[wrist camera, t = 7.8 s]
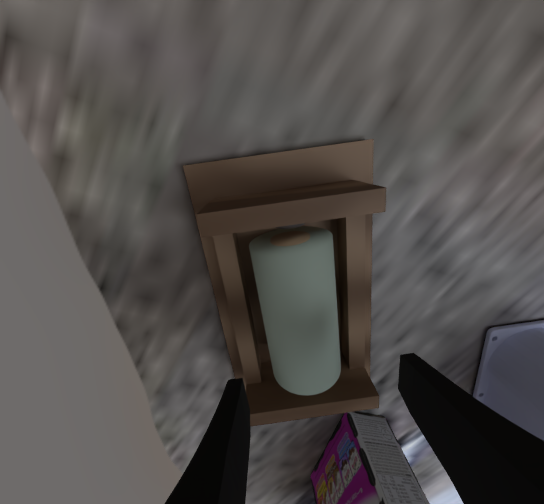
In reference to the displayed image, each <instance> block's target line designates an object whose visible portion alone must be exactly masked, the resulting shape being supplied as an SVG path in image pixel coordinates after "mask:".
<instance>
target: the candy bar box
mask: <svg viewBox="0 0 544 504" xmlns="http://www.w3.org/2000/svg"><path fill="white" fill-rule="evenodd" d="M310 477H311V481H312V486H313V492H314V498H315V503H316V504H429V502H428V500H427V498H426V496H425V494H424V492H423V491H422V489H421V487H420V485H419V483H418V481H417V479H416V477H415V475H414V473H413V471H412V469H411V467H410V465H409V463H408V461H407V459H406V457H405V455H404V453H403V451H402V449H401V447H400V445H399V443H398V441H397V439H396V437H395V435H394V433H393V431H392V429H391V427H390V425H389V424H388V422H387V420H386V418H385V417H382V416H378V415H372V414H364V413H358V412H347V413H344V415H343V417H342V419H341V420H340V422H339V424H338V426H337V428H336V430H335V432H334V433H333V435H332V437H331V439H330V441H329V443H328V445H327V447H326V449H325V450H324V452H323V454H322V456H321V458H320V460H319V462H318V463H317V465H316V467H315V469H314V471H313V472H312V474H311V476H310Z"/></svg>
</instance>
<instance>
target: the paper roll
mask: <svg viewBox="0 0 544 504" xmlns="http://www.w3.org/2000/svg"><path fill="white" fill-rule="evenodd" d="M249 249H250V254H251V259H252V265H253V270H254V275H255V280H256V285H257V291H258V296H259V301H260V306H261V311H262V317H263V322H264V327H265V332H266V337H267V343H268V348H269V353H270V358H271V363H272V369H273V374H274V377H275V379H276V381H277V382H278V384H279V385H280V386H281V387H283V388H284V389H285V390H287V391H289V392H291V393H294V394H297V395H315V394H319V393H322V392H324V391H326V390H328V389H329V388H331V387H332V386H333V385H334V384H335V383H336V382H337V380H338V378H339V376H340V372H341V361H340V344H339V328H338V312H337V296H336V280H335V264H334V248H333V235H332V233H331V232H330V231H328V230H326V229H323V228H319V227H311V226H300V227H296V228H291V229H277V230H273V231H270V232H267V233H264V234H262V235H259V236H258V237H256V238H254V239H253V240H252V241H251V242H250V244H249Z"/></svg>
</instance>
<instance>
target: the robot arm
mask: <svg viewBox="0 0 544 504" xmlns="http://www.w3.org/2000/svg"><path fill="white" fill-rule="evenodd" d="M398 389H399V391H400V393H401V395H402V397H403V400H404V402H405V404H406V406H407V408H408V410H409V412H410V414H411V415H412V417H413V419H414V420H415V422H416V424H417V425H418V427H419V428H420V430H421V432H422V433H423V435H424V437H425V438H426V440H427V441H428V443H429V445H430V446H431V448H432V449H433V451H434V453H435V454H436V456H437V457H438V459H439V461H440V462H441V464H442V466H443V467H444V469H445V470H446V472H447V474H448V476H449V477H450V479H451V481H452V482H453V484H454V486H455V488H456V490H457V492H458V494H459V496H460V497H461V499H462V501H463V503H464V504H544V320H541V321H534V322H527V323H520V324H513V325H506V326H499V327H493V328H490V329H489V330H488V331H487V334H486V339H485V343H484V348H483V352H482V357H481V361H480V366H479V370H478V375H477V379H476V384H475V388H474V393H473V396H471V395H470V394H468V393H467V392H466V391H464V390H463V389H461V388H460V387H459V386H457V385H456V384H454V383H453V382H452V381H450V380H449V379H448V378H446V377H445V376H444V375H442V374H441V373H440V372H438V371H437V370H436V369H434V368H433V367H432V366H430V365H429V364H428V363H426V362H425V361H424V360H422V359H421V358H420V357H419V356H417V355H416V354H414V353H410V354H403V355H400V367H399V382H398ZM249 448H250V407H249V403H248V399H247V394H246V390H245V386H244V382H243V378H237V379H230V380H229V381H228V382H227V384H226V387H225V390H224V392H223V395H222V397H221V400H220V402H219V405H218V407H217V409H216V412H215V414H214V416H213V418H212V420H211V422H210V425H209V427H208V429H207V431H206V433H205V435H204V437H203V439H202V441H201V443H200V445H199V447H198V449H197V450H196V452H195V454H194V456H193V458H192V460H191V461H190V463H189V465H188V467H187V468H186V470H185V472H184V474H183V475H182V477H181V479H180V480H179V482H178V484H177V485H176V487H175V488H174V490H173V491H172V493H171V495H170V496H169V498H168V499H167V501H166V502H165V504H245V498H246V486H247V473H248V461H249Z"/></svg>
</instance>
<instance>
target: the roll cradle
mask: <svg viewBox="0 0 544 504" xmlns="http://www.w3.org/2000/svg"><path fill="white" fill-rule="evenodd" d="M183 168H184V172H185V176H186V180H187V184H188V188H189V192H190V197H191V201H192V205H193V209H194V213H195V217H196V221H197V225H198V229H199V233H200V237H201V241H202V245H203V249H204V254H205V258H206V262H207V266H208V270H209V274H210V278H211V282H212V286H213V290H214V294H215V298H216V302H217V307H218V311H219V315H220V319H221V323H222V327H223V331H224V335H225V339H226V343H227V347H228V351H229V355H230V360H231V364H232V368H233V372H234V376H235V379H237V378H243V382H244V386H245V390H246V394H247V399H248V403H249V407H250V426H257V425H264V424H271V423H278V422H285V421H291V420H298V419H305V418H312V417H319V416H326V415H333V414H340V413H347V412H354V411H360V410H367V409H374V408H379V395H378V393H377V391H376V389H375V387H374V385H373V383H372V381H371V379H370V339H371V271H372V214H373V213H380V212H385V207H386V188H385V187H381V186H377V185H373V139H370V140H363V141H355V142H348V143H341V144H334V145H327V146H320V147H313V148H305V149H298V150H291V151H284V152H277V153H270V154H263V155H255V156H248V157H241V158H234V159H227V160H220V161H213V162H205V163H198V164H191V165H184V166H183ZM300 226H311V227H319V228H323V229H326V230H328V231H330V232H331V233H332V235H333V248H334V264H335V280H336V296H337V312H338V328H339V344H340V361H341V372H340V376H339V378H338V380H337V382H336V383H335V384H334V385H333V386H332V387H331V388H329V389H328V390H326V391H324V392H322V393H319V394H315V395H297V394H294V393H291V392H289V391H287V390H285V389H284V388H283V387H281V386H280V385H279V384H278V382H277V381H276V379H275V377H274V374H273V369H272V363H271V358H270V353H269V348H268V343H267V337H266V332H265V327H264V322H263V317H262V311H261V306H260V301H259V296H258V291H257V285H256V280H255V275H254V270H253V265H252V259H251V254H250V249H249V244H250V242H251V241H252V240H253V239H254V238H256V237H258V236H259V235H262V234H264V233H267V232H270V231H273V230H277V229H291V228H296V227H300Z"/></svg>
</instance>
